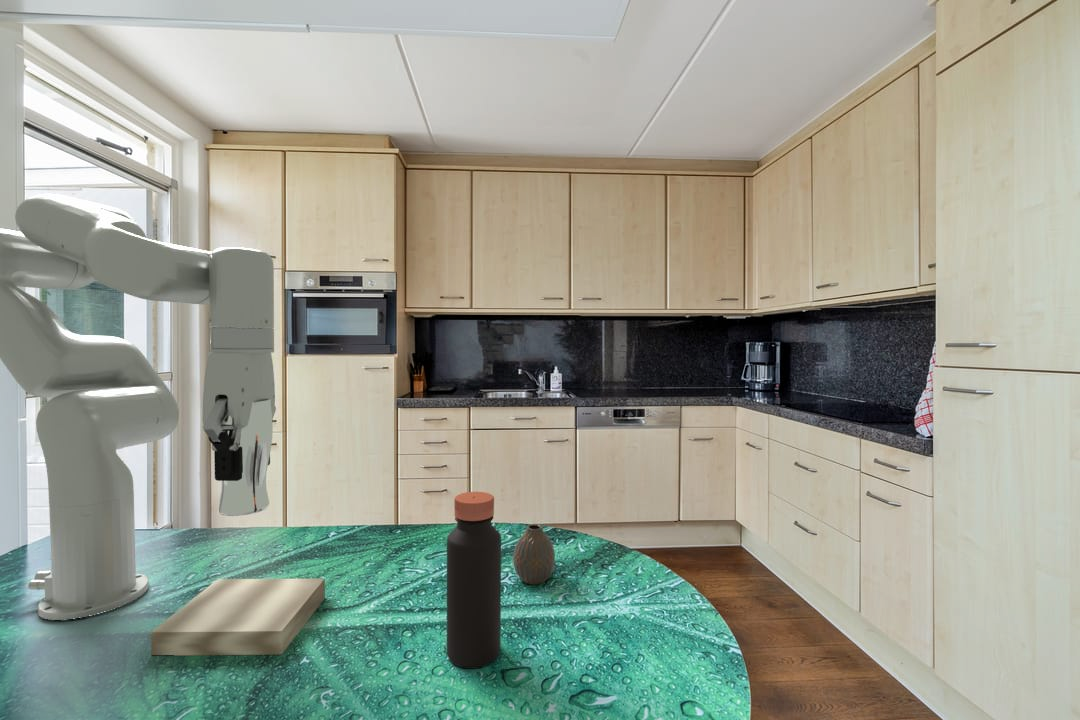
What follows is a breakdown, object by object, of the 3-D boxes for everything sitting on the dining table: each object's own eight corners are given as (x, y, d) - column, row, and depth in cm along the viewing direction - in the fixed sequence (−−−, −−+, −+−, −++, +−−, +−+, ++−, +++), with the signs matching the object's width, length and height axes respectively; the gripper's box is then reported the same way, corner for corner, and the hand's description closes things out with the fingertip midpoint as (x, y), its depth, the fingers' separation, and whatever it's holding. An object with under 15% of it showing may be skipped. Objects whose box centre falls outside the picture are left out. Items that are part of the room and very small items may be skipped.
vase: (506, 583, 84) (506, 530, 83) (523, 566, 90) (523, 517, 90) (545, 592, 81) (546, 537, 81) (560, 573, 87) (561, 522, 87)
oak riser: (151, 655, 64) (150, 632, 64) (218, 598, 78) (217, 579, 78) (281, 654, 65) (281, 631, 64) (324, 597, 79) (324, 578, 78)
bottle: (486, 675, 61) (486, 509, 60) (436, 662, 63) (436, 502, 62) (509, 643, 67) (510, 492, 66) (463, 632, 70) (463, 486, 69)
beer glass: (247, 519, 66) (246, 404, 66) (201, 514, 68) (200, 401, 67) (284, 502, 73) (283, 398, 73) (241, 498, 75) (241, 396, 74)
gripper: (248, 340, 78) (249, 457, 79) (170, 342, 61) (172, 491, 62) (299, 341, 78) (299, 457, 79) (235, 343, 61) (236, 492, 62)
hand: (243, 471), depth 70 cm, fingers closed on beer glass, 6 cm apart
